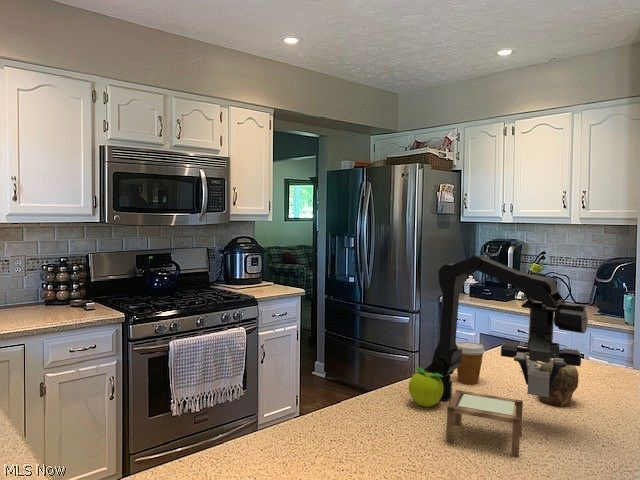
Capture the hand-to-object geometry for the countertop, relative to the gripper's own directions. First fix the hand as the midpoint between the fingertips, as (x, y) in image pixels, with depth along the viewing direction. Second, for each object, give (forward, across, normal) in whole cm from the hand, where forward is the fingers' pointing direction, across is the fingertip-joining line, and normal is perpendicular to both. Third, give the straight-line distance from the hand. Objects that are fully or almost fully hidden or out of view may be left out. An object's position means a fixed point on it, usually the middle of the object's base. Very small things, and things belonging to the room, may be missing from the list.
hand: (538, 385), depth 130 cm
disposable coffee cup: (+10, -21, +26) cm, 35 cm away
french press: (+10, -1, +45) cm, 46 cm away
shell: (+10, +5, +20) cm, 23 cm away
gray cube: (+2, 0, 0) cm, 2 cm away
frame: (+10, -11, -16) cm, 22 cm away
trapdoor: (+2, -11, -16) cm, 19 cm away
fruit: (+10, -29, -1) cm, 31 cm away
